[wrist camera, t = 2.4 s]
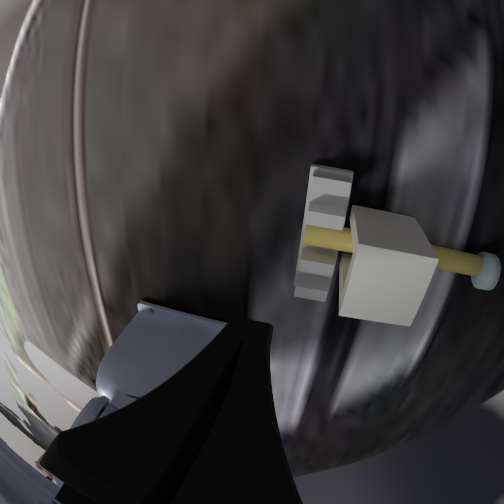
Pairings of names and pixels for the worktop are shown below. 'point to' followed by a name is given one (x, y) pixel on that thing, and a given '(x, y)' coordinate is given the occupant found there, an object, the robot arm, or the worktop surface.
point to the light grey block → (385, 267)
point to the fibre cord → (477, 266)
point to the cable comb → (322, 215)
